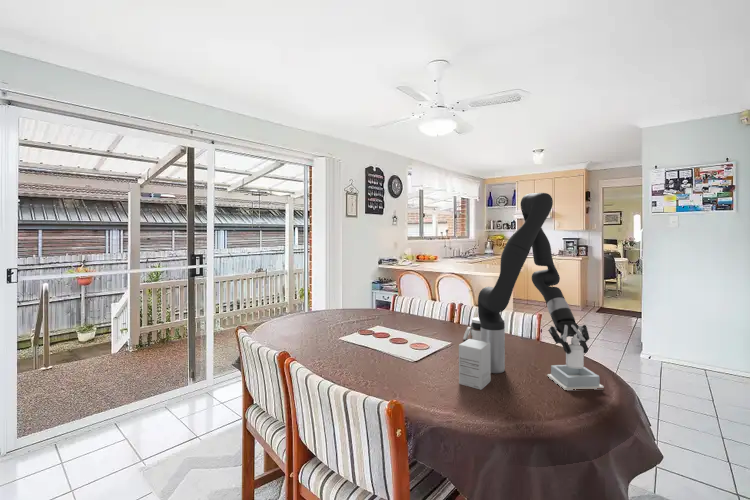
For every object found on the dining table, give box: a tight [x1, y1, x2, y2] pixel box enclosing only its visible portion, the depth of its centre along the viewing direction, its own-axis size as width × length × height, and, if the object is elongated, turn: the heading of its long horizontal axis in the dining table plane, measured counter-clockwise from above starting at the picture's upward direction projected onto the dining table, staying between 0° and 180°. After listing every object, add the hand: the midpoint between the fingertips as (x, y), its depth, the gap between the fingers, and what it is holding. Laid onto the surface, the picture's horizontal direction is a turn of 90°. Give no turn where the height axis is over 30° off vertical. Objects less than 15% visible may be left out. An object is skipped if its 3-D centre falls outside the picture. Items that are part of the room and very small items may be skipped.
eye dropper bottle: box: [565, 334, 585, 369], centre depth 134 cm, size 4×6×12 cm
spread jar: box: [463, 316, 481, 341], centre depth 185 cm, size 12×11×12 cm
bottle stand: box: [546, 364, 605, 391], centre depth 135 cm, size 14×12×4 cm
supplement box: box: [458, 338, 492, 391], centre depth 136 cm, size 9×9×15 cm
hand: (577, 352), depth 133 cm, fingers closed on eye dropper bottle, 5 cm apart
